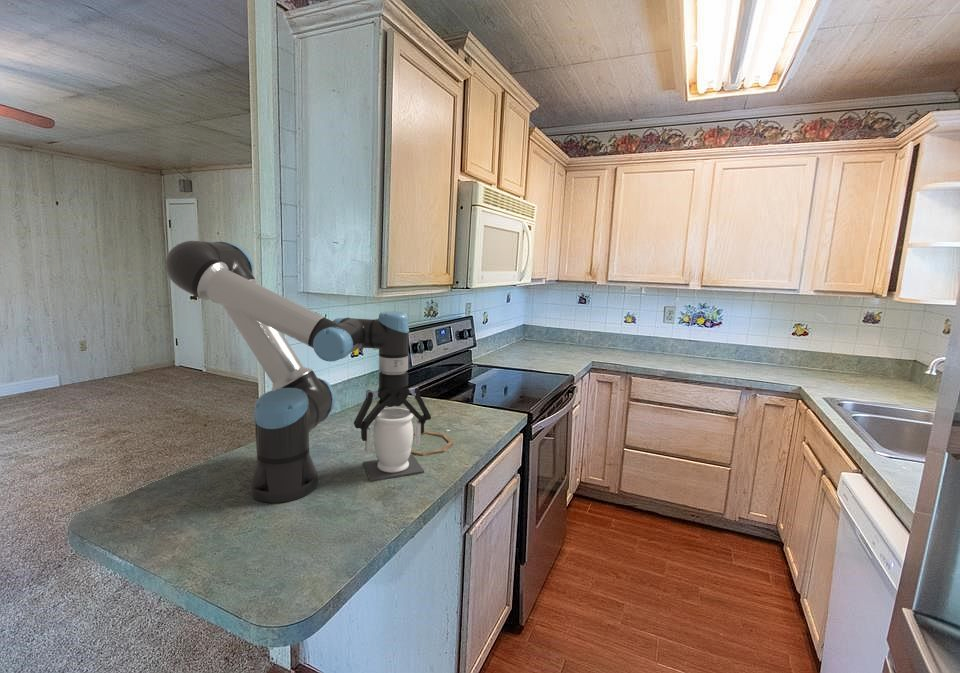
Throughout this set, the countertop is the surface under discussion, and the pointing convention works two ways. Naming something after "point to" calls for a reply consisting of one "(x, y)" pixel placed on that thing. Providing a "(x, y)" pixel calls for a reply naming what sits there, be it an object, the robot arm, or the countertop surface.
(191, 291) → the robot arm
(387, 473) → the mat
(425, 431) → the cork ring
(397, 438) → the jar
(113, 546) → the countertop surface
